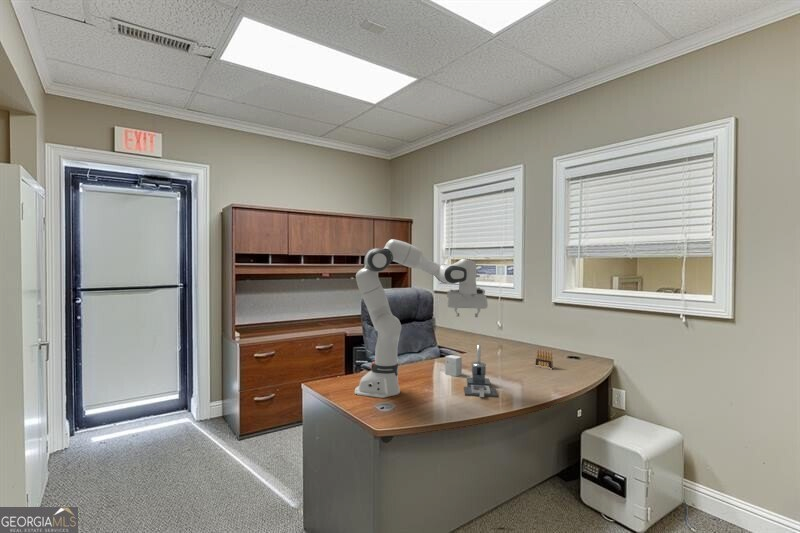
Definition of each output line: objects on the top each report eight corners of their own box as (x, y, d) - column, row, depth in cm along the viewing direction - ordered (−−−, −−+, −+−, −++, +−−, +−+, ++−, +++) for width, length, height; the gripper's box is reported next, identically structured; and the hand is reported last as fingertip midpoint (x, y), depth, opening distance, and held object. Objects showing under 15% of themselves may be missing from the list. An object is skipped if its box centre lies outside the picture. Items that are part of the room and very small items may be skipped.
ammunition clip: (552, 369, 251) (553, 350, 250) (551, 369, 249) (551, 350, 249) (536, 365, 258) (537, 347, 258) (535, 366, 257) (535, 347, 257)
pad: (464, 395, 197) (464, 393, 197) (463, 388, 209) (463, 386, 209) (498, 397, 195) (498, 395, 195) (495, 389, 207) (495, 388, 207)
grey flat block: (472, 396, 193) (472, 390, 193) (470, 387, 207) (470, 381, 207) (491, 397, 192) (491, 391, 192) (488, 388, 206) (488, 382, 206)
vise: (467, 386, 212) (468, 346, 212) (466, 381, 222) (467, 342, 222) (490, 387, 210) (491, 347, 210) (488, 382, 220) (489, 343, 220)
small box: (461, 375, 234) (462, 357, 234) (456, 377, 230) (456, 358, 230) (450, 372, 239) (450, 354, 239) (444, 374, 235) (445, 356, 235)
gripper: (447, 290, 206) (446, 317, 206) (488, 290, 203) (487, 318, 203) (447, 289, 212) (446, 315, 212) (486, 290, 210) (486, 316, 210)
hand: (467, 316), depth 208 cm, fingers open, 8 cm apart
